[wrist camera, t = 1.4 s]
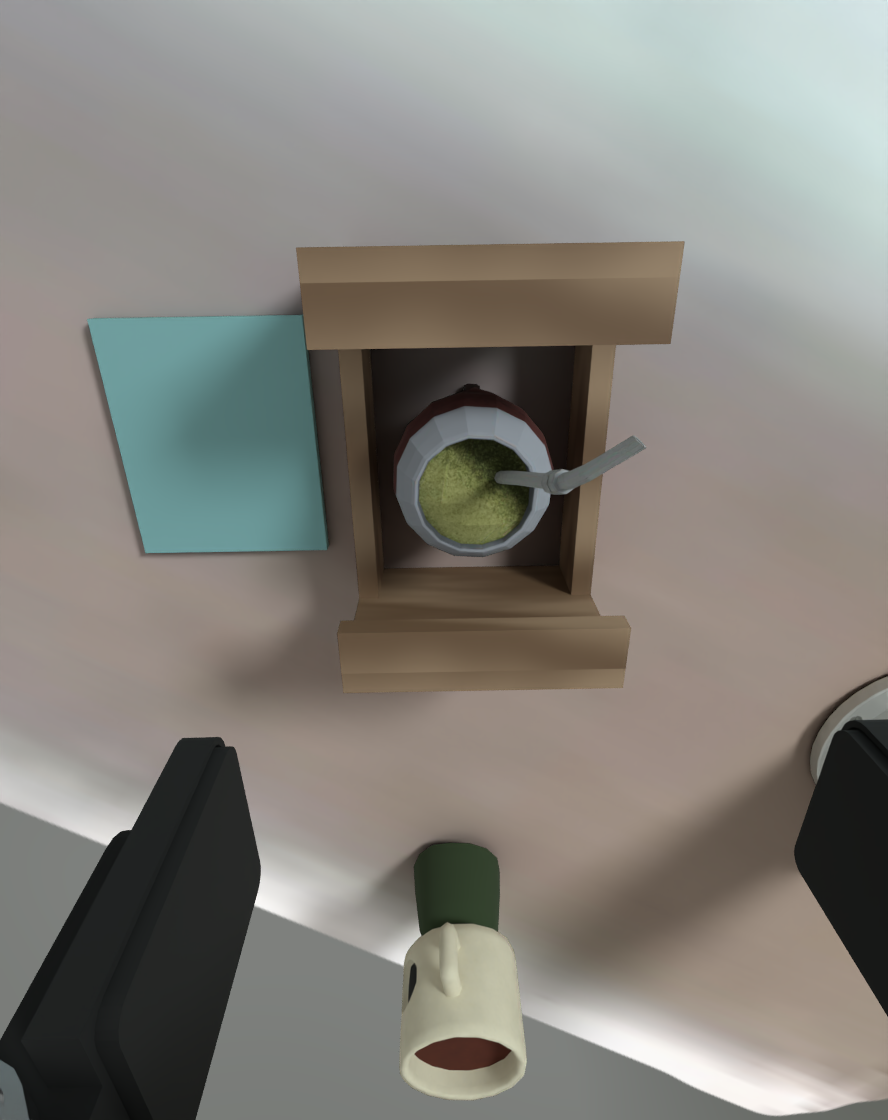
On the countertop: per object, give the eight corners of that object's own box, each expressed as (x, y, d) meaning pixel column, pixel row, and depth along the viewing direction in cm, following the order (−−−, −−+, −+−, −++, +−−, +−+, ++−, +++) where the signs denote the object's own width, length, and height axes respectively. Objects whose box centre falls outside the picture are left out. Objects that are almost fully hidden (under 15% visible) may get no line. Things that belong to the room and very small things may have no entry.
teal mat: (328, 545, 34) (327, 549, 33) (150, 548, 34) (145, 553, 33) (304, 314, 29) (302, 315, 28) (93, 318, 29) (87, 319, 28)
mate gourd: (398, 504, 33) (370, 667, 19) (402, 352, 30) (373, 422, 16) (534, 511, 33) (600, 677, 20) (553, 361, 30) (650, 437, 16)
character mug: (395, 815, 43) (379, 1020, 31) (495, 803, 43) (516, 1005, 31) (422, 914, 48) (416, 1124, 36) (512, 904, 47) (536, 1113, 36)
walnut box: (574, 580, 35) (622, 688, 26) (367, 584, 35) (343, 693, 26) (604, 251, 28) (684, 241, 19) (342, 255, 28) (296, 247, 19)
